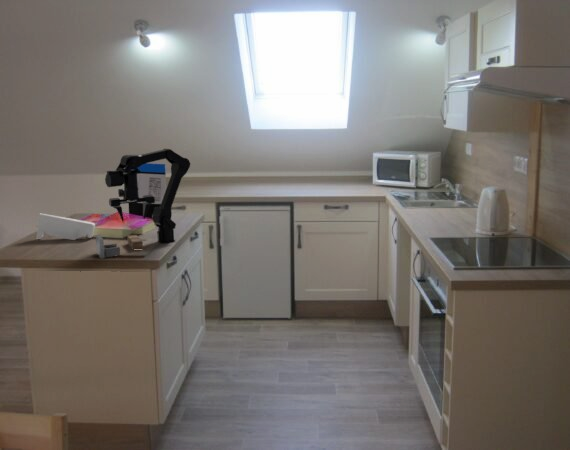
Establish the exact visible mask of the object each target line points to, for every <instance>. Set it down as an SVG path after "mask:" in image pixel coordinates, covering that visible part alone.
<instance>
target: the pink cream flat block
mask: <svg viewBox="0 0 570 450" xmlns="http://www.w3.org/2000/svg"><path fill="white" fill-rule="evenodd" d="M122 213H123V222H122V220H121V218H120V215H119V213H118V211H117V212H114V213H112V214H107V213H106V214H100V213H99V214H98V213H92V214H90V215H87V216H85V217H83V218H80V219H79V220H82V221H87V222H92V223H95V231H94V236H92V237H94V238H96V236H95V235H97V234H99V235H100V236H101V237H102V238H114V239H123V238H126V237H127V236H129V235H144V234H146V233H148V232H150V231H151V230H153V229H156V224H155V223H154V222H153V220H152V219H151V218H150V219H147V217H145V219H143V217H142V216H138V215H136V217H135V215H133V214H129V212H128V213H127V212H124V211H122ZM129 215H130V216H129ZM131 215H132V216H131ZM137 216H138V217H137ZM129 217H130V218H129ZM131 217H132V218H131ZM141 217H142V219H141ZM133 218H134V219H133ZM137 218H138V219H137ZM139 218H140V219H139ZM92 237H91V238H92Z"/></svg>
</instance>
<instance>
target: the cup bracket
mask: <svg viewBox="0 0 570 450" xmlns="http://www.w3.org/2000/svg"><path fill="white" fill-rule="evenodd" d="M95 236H96V237H95V245H96V246H95V248H96V255H97V256H98V255H99V256H98V257H99V258H100V260H101V259H105V258H113V256H114V257H116V256H115V255H120V256H121V249H120V247H119V246H118V245H117V243H109V244H104V239H103V238H104V237H101V236H100V235H99V234H97V235H95Z"/></svg>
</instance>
